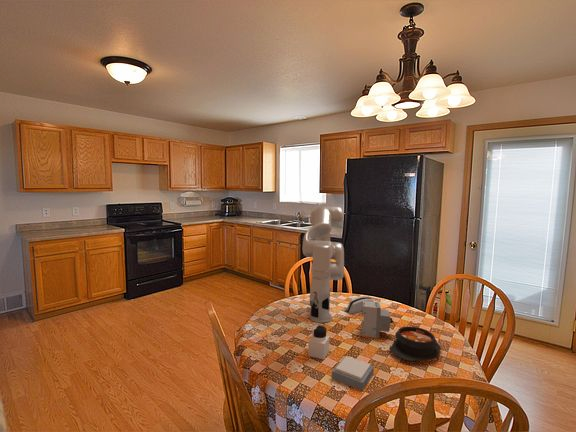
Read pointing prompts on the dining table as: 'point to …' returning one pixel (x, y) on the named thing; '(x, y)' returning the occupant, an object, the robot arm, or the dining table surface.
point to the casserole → (415, 344)
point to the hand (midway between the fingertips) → (320, 312)
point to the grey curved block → (357, 304)
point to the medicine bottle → (318, 343)
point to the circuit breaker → (374, 319)
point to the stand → (353, 372)
